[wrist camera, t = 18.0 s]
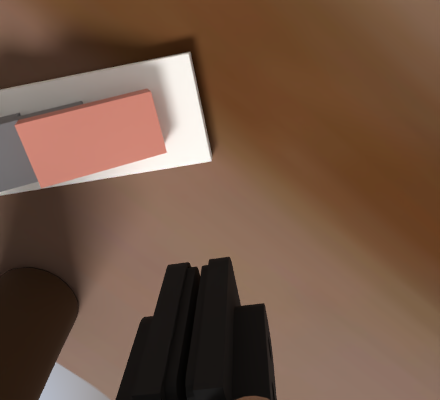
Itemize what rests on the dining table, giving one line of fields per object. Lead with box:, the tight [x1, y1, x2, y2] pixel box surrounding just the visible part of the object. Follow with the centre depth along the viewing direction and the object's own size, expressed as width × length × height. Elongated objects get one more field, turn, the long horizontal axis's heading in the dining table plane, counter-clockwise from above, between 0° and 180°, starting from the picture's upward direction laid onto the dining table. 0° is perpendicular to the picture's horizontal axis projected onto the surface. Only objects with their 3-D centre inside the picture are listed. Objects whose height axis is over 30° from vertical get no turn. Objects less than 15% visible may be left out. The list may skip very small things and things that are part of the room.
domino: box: [0, 101, 83, 192], centre depth 32 cm, size 2×5×10 cm
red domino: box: [15, 89, 167, 188], centre depth 31 cm, size 2×5×10 cm
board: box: [0, 52, 212, 196], centre depth 35 cm, size 27×9×1 cm, turn 101°
